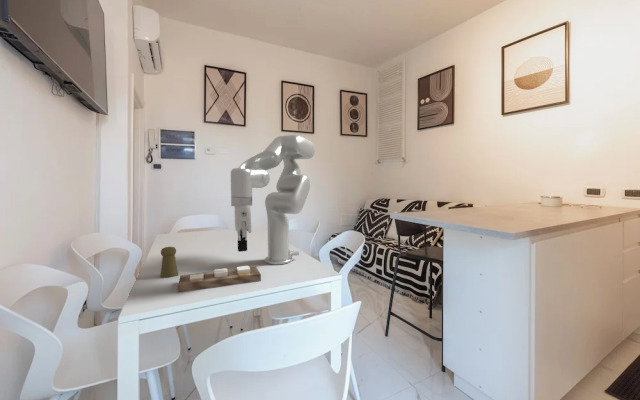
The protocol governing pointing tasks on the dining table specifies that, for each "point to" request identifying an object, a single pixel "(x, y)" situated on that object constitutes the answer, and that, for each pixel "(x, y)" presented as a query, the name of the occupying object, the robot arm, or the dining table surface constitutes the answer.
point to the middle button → (220, 272)
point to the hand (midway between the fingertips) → (242, 250)
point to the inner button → (243, 270)
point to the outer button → (196, 277)
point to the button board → (217, 280)
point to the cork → (168, 262)
